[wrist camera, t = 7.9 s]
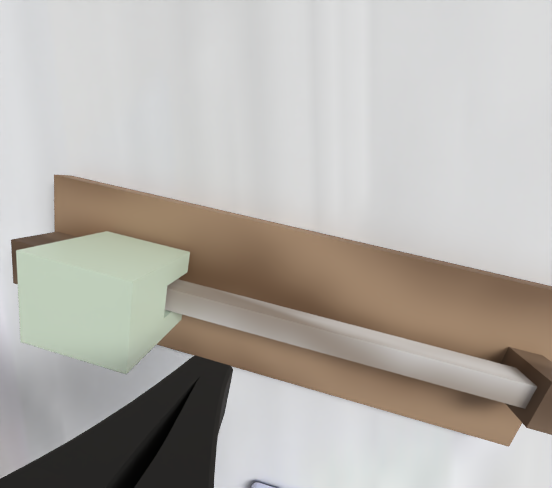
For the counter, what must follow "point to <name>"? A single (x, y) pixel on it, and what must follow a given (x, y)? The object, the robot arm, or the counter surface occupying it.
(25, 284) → the sleeve
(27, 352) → the counter surface
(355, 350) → the rod board
